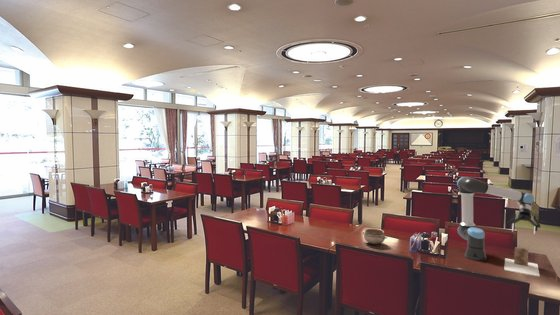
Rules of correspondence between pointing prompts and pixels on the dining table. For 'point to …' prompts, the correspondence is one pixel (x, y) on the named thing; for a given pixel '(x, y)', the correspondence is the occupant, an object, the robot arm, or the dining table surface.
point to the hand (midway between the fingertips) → (523, 232)
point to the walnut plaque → (521, 256)
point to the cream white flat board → (521, 268)
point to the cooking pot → (374, 236)
